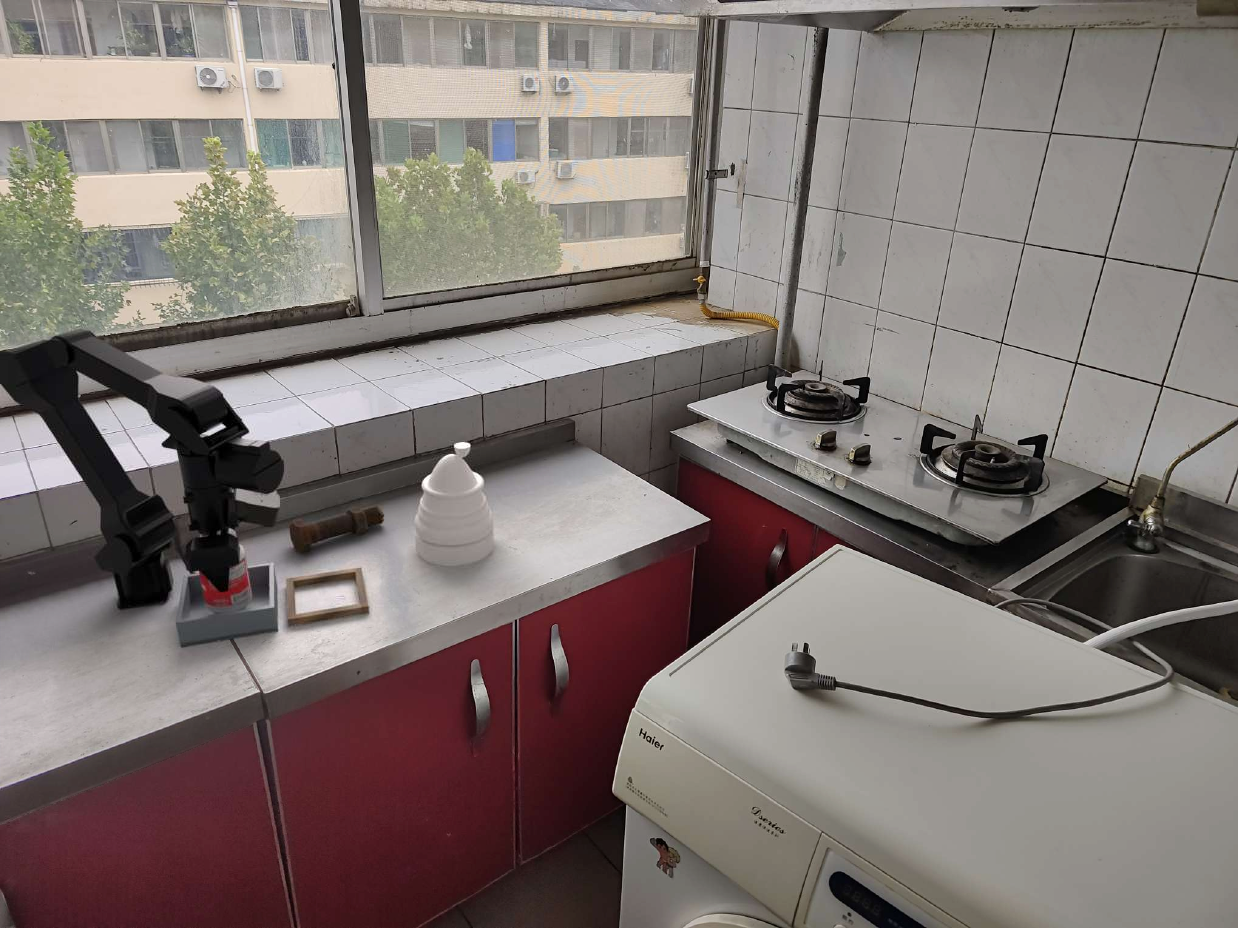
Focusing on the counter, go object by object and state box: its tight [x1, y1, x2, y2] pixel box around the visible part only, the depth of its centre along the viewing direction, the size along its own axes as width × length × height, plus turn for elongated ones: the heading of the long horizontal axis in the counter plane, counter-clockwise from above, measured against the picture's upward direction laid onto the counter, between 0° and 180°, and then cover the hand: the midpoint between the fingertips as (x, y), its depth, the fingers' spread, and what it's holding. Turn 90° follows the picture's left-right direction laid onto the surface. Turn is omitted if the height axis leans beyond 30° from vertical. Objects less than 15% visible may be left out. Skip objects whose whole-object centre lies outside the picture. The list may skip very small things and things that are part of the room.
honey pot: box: [414, 441, 495, 567], centre depth 135 cm, size 13×13×18 cm
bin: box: [175, 562, 279, 648], centre depth 118 cm, size 12×12×4 cm
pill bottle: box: [198, 528, 252, 613], centre depth 116 cm, size 6×6×11 cm
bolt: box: [289, 505, 385, 555], centre depth 139 cm, size 6×5×15 cm
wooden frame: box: [285, 566, 370, 627], centre depth 123 cm, size 11×11×1 cm
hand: (225, 578), depth 116 cm, fingers closed on pill bottle, 6 cm apart
